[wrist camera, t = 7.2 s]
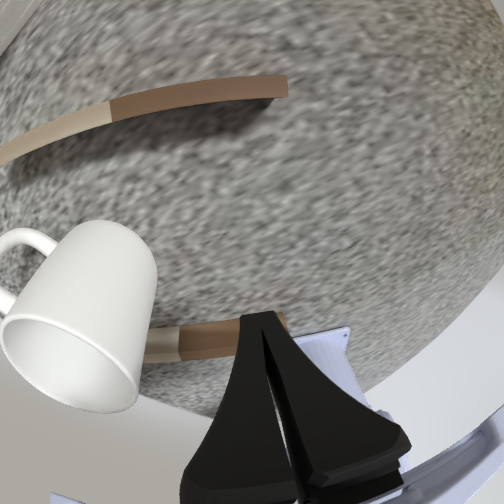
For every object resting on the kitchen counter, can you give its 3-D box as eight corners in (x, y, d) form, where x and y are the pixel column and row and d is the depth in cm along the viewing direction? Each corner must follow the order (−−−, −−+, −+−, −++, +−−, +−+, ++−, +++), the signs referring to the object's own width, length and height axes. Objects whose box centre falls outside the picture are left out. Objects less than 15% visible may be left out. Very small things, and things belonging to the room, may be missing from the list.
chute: (282, 321, 24) (289, 346, 22) (97, 340, 23) (90, 363, 20) (274, 79, 14) (286, 75, 11) (19, 140, 13) (-5, 149, 10)
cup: (128, 321, 22) (107, 424, 13) (20, 246, 17) (-44, 328, 8) (180, 260, 19) (168, 380, 11) (52, 164, 14) (-48, 230, 6)
